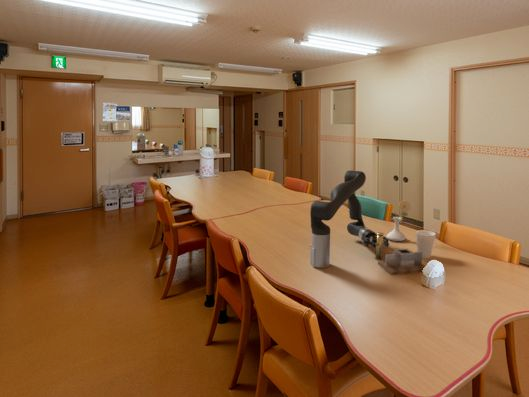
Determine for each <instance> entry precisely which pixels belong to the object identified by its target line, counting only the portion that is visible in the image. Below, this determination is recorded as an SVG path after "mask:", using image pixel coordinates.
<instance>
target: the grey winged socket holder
mask: <svg viewBox="0 0 529 397" xmlns="http://www.w3.org/2000/svg"><path fill="white" fill-rule="evenodd" d="M422 260H423V258H422V252H417V251H414V252H413V251H412V250H410V249H408V248H400V249H393V253H392V254H391V253H390V254H389V253H388V254H387V253H386V254H385V260H384V261H385V266H386V267H388V266H398V267H400V268H408V267H414V264H421V263H422V264H423V262H422Z"/></svg>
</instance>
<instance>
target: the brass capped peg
mask: <svg viewBox="0 0 529 397" xmlns="http://www.w3.org/2000/svg"><path fill="white" fill-rule="evenodd" d="M376 234H377V244H376V248H375V249H376V252H375V259H376V260H383V243H384V242H383V236H384V234H385V233H384V232H381V231H378V232H376Z"/></svg>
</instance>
